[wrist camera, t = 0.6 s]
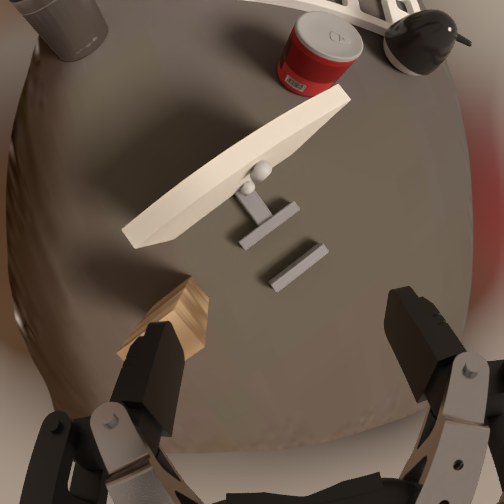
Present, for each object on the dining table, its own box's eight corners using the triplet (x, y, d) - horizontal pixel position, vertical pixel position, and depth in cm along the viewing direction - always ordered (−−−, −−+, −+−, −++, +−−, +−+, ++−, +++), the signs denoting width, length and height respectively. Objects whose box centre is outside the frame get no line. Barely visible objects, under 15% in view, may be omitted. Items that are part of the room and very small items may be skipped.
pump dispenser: (418, 94, 36) (477, 61, 21) (369, 59, 35) (420, 10, 20) (424, 59, 36) (474, 26, 21) (379, 28, 34) (423, -17, 19)
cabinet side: (166, 229, 33) (121, 229, 16) (285, 144, 34) (338, 83, 17) (234, 318, 35) (251, 389, 18) (345, 232, 36) (433, 235, 19)
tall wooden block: (154, 304, 34) (116, 352, 19) (191, 275, 34) (173, 309, 19) (172, 325, 34) (146, 386, 19) (208, 298, 35) (204, 346, 20)
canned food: (335, 99, 35) (372, 63, 24) (280, 99, 34) (304, 55, 23) (323, 57, 34) (353, 15, 23) (271, 54, 33) (289, 7, 22)
